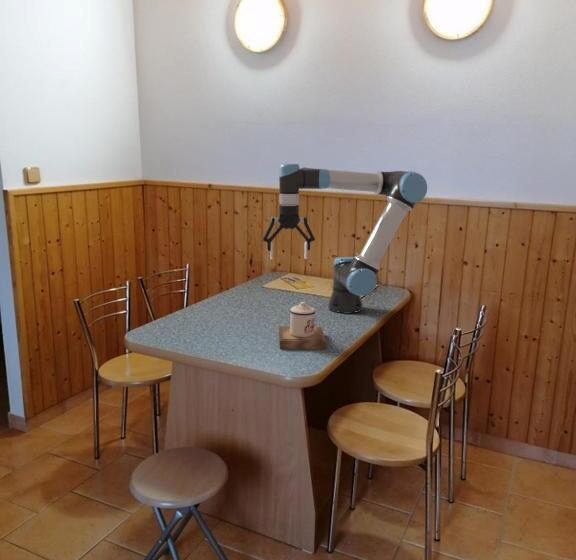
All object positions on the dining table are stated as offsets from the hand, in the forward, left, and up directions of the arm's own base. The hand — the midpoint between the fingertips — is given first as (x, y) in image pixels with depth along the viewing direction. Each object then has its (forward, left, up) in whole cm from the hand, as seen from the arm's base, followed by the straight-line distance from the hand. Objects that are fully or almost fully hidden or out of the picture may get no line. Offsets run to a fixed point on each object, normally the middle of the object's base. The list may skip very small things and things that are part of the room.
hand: (288, 258), depth 217 cm
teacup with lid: (-5, +24, -23) cm, 34 cm away
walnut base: (-4, +25, -26) cm, 36 cm away
